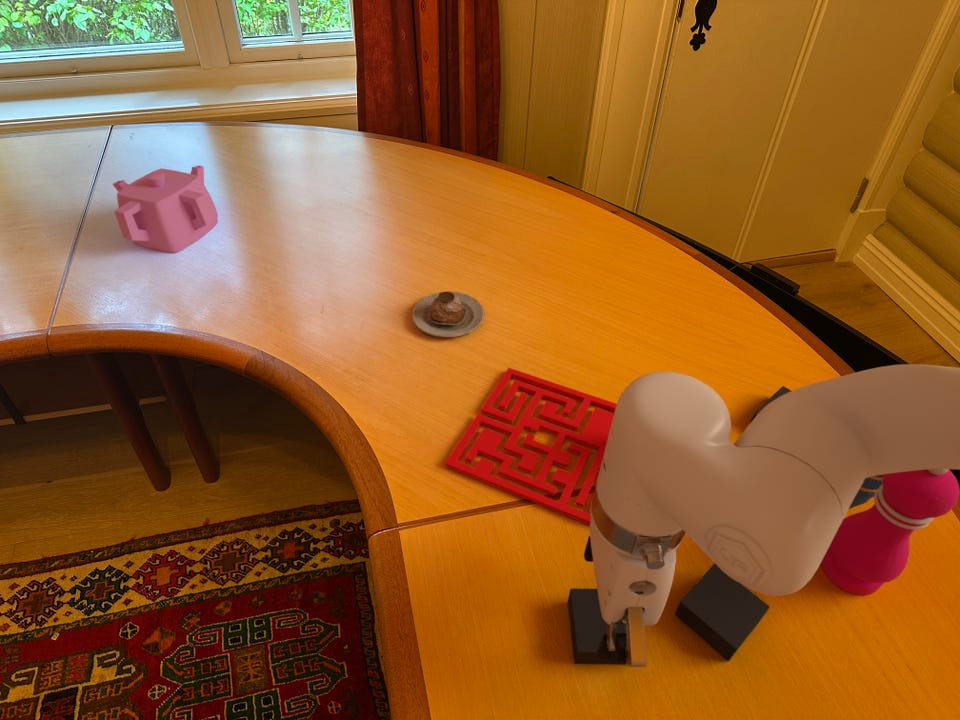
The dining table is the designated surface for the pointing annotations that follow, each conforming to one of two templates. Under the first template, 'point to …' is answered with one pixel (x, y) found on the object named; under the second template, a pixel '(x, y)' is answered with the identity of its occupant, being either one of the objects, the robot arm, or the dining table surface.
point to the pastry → (448, 314)
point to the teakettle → (166, 209)
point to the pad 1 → (587, 626)
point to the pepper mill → (887, 529)
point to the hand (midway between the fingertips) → (606, 604)
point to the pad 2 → (721, 611)
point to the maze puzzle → (490, 440)
